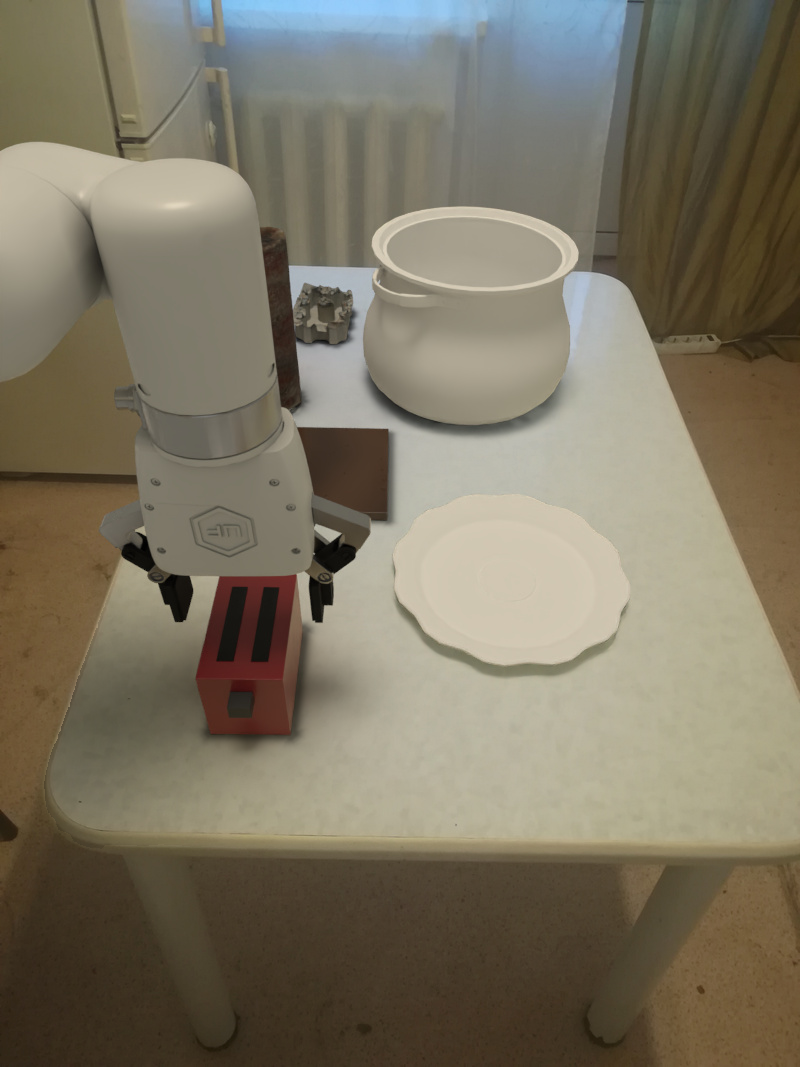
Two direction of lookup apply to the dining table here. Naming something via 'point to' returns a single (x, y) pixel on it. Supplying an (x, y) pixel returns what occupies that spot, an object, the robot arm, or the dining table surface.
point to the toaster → (251, 655)
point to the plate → (510, 579)
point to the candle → (281, 314)
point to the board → (349, 467)
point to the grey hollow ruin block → (322, 313)
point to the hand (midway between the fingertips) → (252, 607)
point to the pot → (468, 313)
